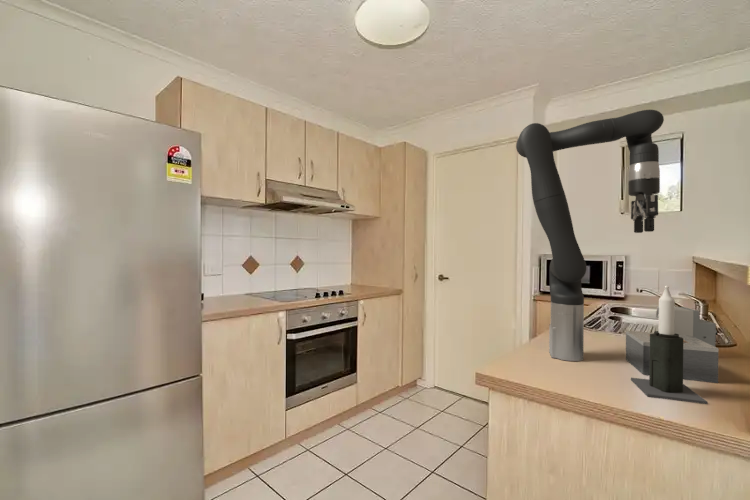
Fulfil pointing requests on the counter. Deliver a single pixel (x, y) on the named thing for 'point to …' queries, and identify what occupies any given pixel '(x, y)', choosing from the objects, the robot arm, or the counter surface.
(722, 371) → the counter surface
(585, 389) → the counter surface
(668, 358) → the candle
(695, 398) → the mat
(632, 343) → the box
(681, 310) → the circuit breaker
